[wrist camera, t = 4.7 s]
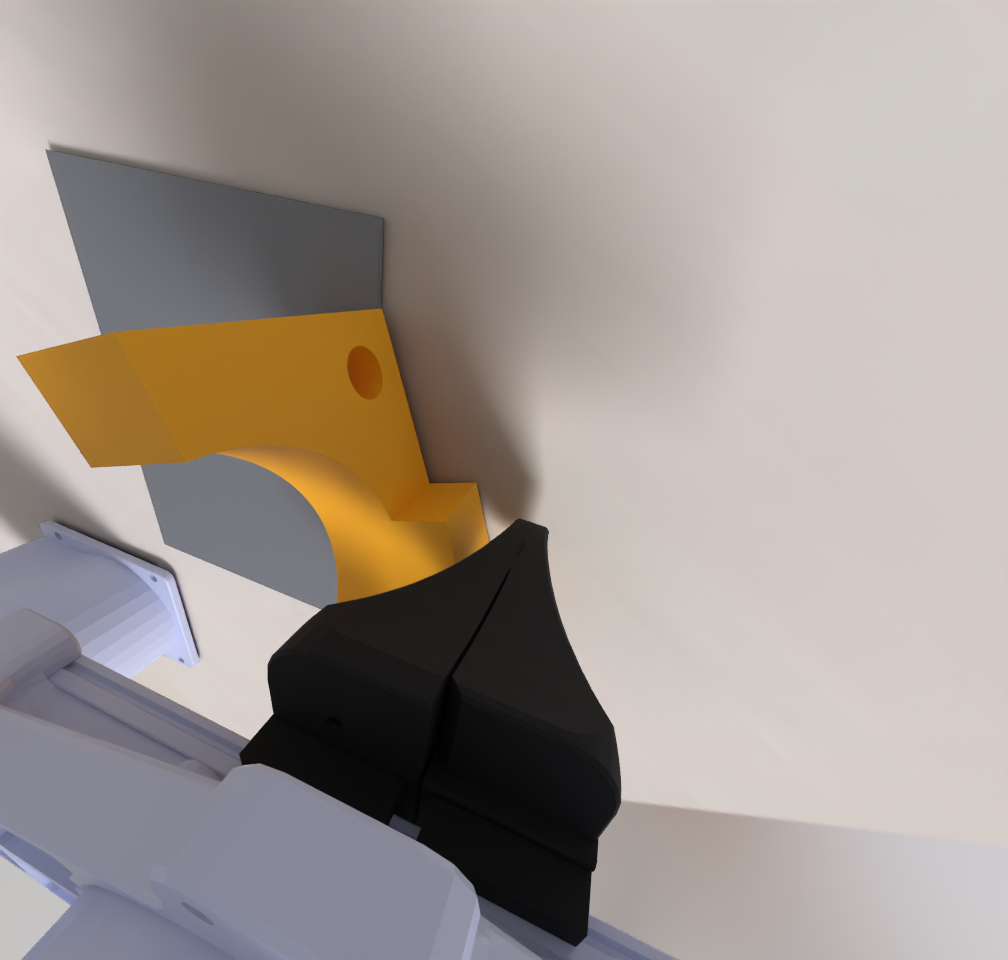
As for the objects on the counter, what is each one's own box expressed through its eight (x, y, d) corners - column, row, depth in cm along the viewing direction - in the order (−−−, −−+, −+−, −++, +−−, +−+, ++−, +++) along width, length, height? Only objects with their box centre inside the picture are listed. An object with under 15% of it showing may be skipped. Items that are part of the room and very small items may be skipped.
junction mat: (168, 542, 20) (164, 544, 19) (54, 151, 12) (45, 149, 12) (370, 625, 18) (368, 628, 17) (383, 218, 10) (379, 217, 10)
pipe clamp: (507, 627, 15) (436, 826, 9) (413, 616, 16) (303, 783, 11) (436, 297, 10) (201, 310, 5) (311, 322, 11) (16, 356, 6)
